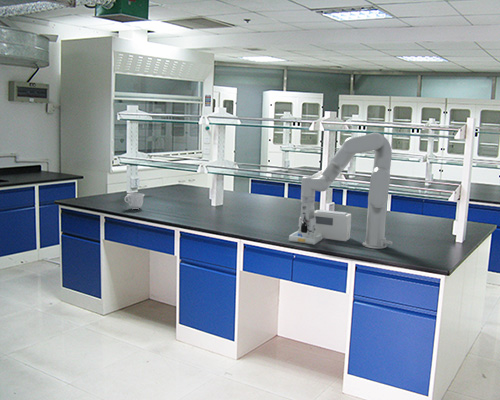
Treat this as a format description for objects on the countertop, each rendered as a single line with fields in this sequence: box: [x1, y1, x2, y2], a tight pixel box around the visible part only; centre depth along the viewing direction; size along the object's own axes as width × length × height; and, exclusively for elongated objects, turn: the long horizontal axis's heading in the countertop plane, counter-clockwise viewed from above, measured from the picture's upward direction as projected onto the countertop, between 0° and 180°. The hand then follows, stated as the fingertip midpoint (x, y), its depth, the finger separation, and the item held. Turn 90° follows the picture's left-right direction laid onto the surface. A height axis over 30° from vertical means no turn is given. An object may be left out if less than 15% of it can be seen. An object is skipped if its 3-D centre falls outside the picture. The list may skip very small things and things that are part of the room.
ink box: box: [297, 216, 316, 239], centre depth 285 cm, size 9×5×12 cm, turn 48°
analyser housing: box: [314, 209, 352, 242], centre depth 292 cm, size 20×9×15 cm, turn 64°
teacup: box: [124, 192, 145, 210], centre depth 358 cm, size 12×15×10 cm
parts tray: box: [288, 230, 324, 245], centre depth 286 cm, size 15×14×3 cm
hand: (306, 231), depth 286 cm, fingers open, 6 cm apart
